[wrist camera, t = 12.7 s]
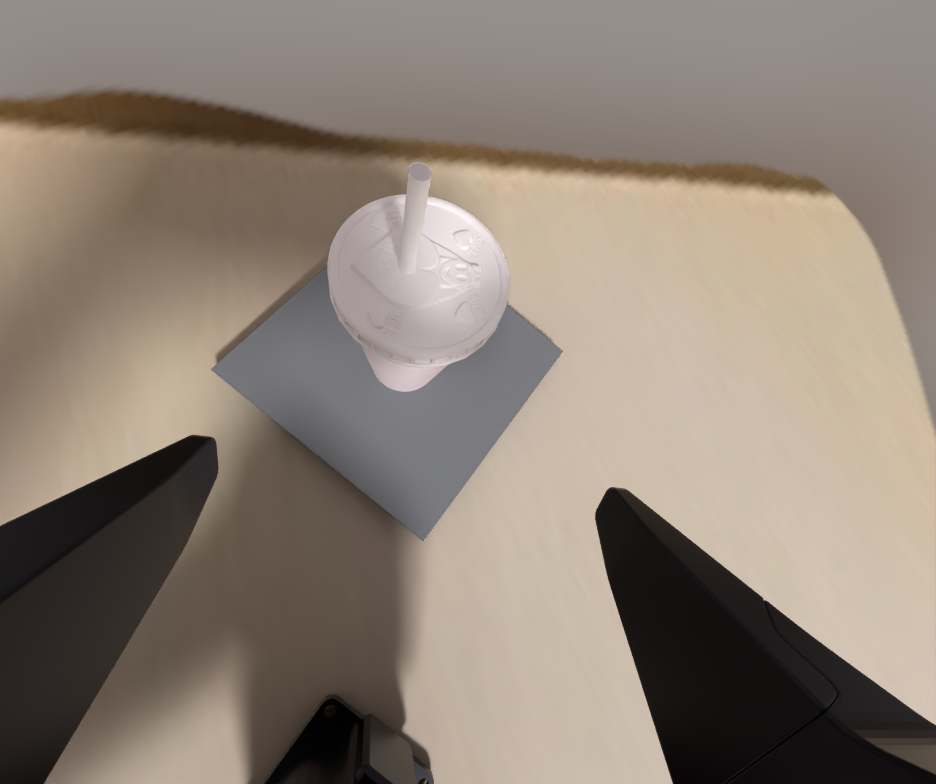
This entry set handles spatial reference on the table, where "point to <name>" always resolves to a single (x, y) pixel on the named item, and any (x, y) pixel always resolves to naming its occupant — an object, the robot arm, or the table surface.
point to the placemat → (386, 403)
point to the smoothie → (416, 283)
